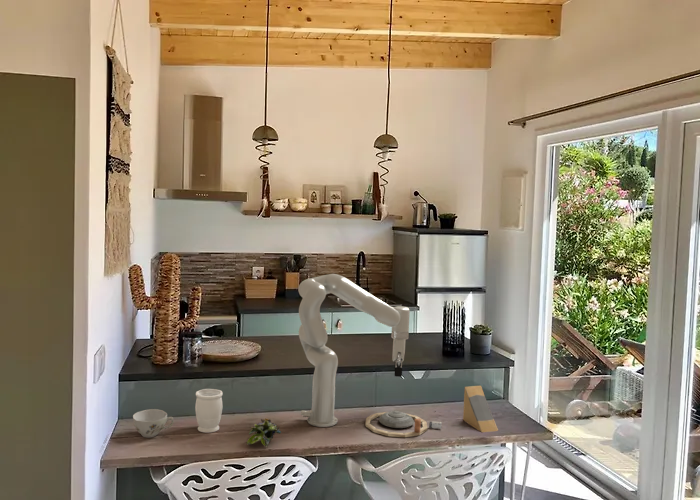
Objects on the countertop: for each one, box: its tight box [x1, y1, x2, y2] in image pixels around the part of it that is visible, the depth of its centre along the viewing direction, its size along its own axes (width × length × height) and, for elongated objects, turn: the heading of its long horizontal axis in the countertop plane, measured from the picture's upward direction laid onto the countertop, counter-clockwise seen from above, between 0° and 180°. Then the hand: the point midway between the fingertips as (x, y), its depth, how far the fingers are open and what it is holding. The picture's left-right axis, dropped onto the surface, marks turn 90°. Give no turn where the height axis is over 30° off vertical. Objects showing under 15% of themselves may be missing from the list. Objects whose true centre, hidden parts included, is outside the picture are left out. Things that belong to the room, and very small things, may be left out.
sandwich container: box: [462, 385, 499, 433], centre depth 257 cm, size 9×15×15 cm, turn 21°
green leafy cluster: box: [246, 418, 282, 449], centre depth 228 cm, size 11×11×12 cm
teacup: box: [132, 408, 174, 438], centre depth 233 cm, size 15×12×8 cm
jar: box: [194, 388, 223, 434], centre depth 240 cm, size 11×10×15 cm
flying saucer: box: [378, 410, 415, 429], centre depth 255 cm, size 15×15×6 cm
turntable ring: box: [365, 411, 428, 438], centre depth 253 cm, size 26×26×6 cm
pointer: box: [428, 420, 443, 430], centre depth 252 cm, size 5×2×2 cm, turn 86°
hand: (398, 373), depth 267 cm, fingers open, 8 cm apart
